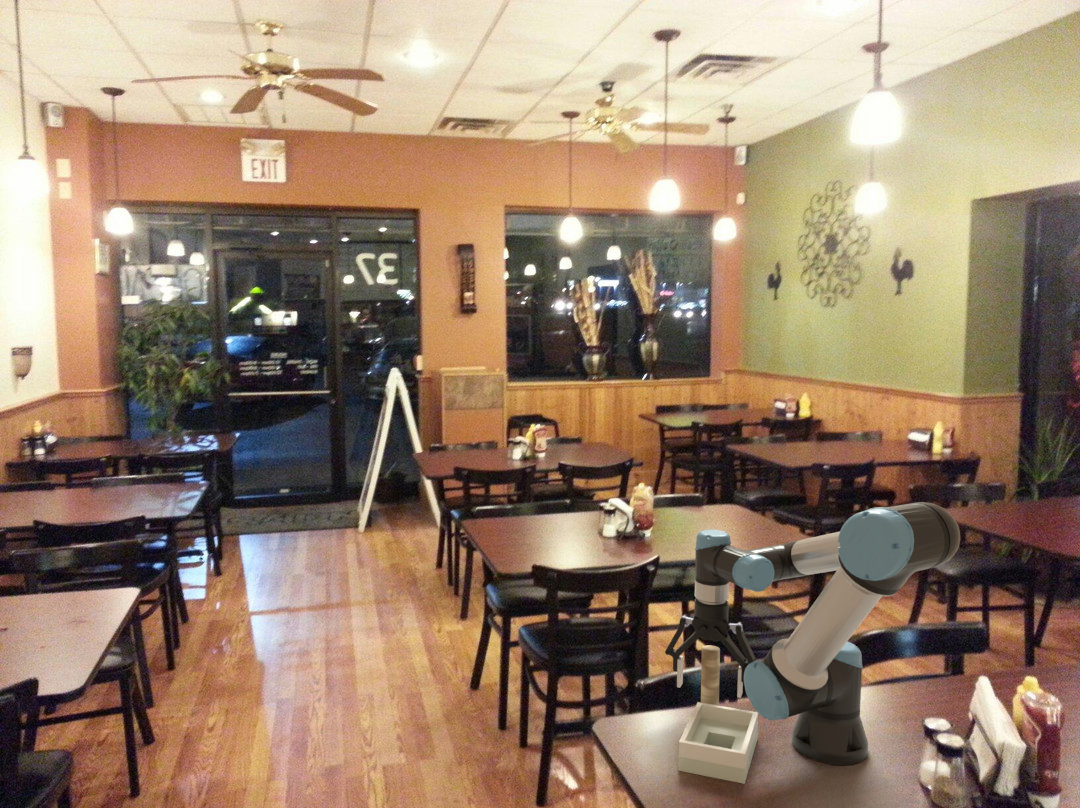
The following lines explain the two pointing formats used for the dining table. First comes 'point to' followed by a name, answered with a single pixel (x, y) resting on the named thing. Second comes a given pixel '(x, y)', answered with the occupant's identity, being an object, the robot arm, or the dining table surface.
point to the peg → (710, 675)
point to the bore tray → (719, 742)
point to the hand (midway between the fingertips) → (709, 690)
